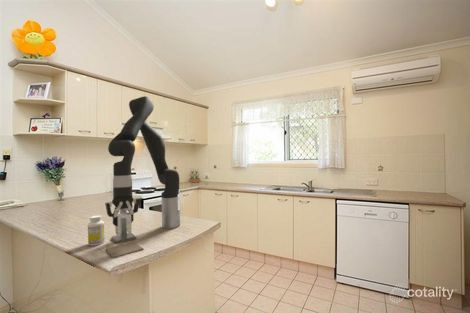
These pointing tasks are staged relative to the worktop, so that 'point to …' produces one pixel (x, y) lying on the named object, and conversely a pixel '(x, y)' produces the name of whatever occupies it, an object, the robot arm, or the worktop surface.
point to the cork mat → (123, 249)
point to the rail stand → (123, 231)
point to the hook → (128, 222)
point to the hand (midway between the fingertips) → (123, 223)
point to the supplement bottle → (95, 231)
